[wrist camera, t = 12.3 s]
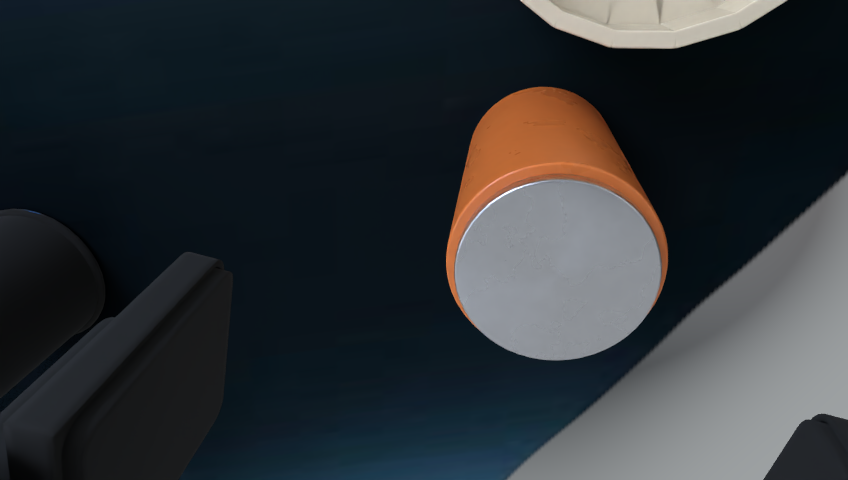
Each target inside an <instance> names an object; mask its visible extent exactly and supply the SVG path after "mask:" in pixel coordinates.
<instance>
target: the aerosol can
mask: <svg viewBox="0 0 848 480" xmlns="http://www.w3.org/2000/svg"><path fill="white" fill-rule="evenodd" d="M104 302H105V283H104V279H103V274H102V272H101V269H100V267H99V265H98V262H97V260H96V259H95V257H94V256H93V254H92V253H91V251H90V250H89V248H88V247H87V246H86V245H85V244H84V242H83V241H82V240H81V239H80V238H79V237H78V236H77V235H76V234H74V233H73V232H72V231H71V230H70V229H69V228H67V227H66V226H64V225H63V224H61V223H59V222H58V221H56V220H55V219H53V218H50V217H48V216H46V215H43V214H41V213H38V212H34V211H30V210H25V209H8V210H1V211H0V398H1V397H2V396H3V395H5V394H6V393H7V392H8V391H9V390H10V389H12V388H13V387H14V386H15V385H16V384H17V383H18V382H20V381H21V380H22V379H23V378H24V377H25V376H27V375H28V374H29V373H30V372H31V371H32V370H34V369H35V368H36V367H37V366H38V365H39V364H41V363H42V362H43V361H44V360H45V359H46V358H47V357H49V356H50V355H51V354H52V353H53V352H54V351H56V350H57V349H58V348H59V347H60V346H61V345H63V344H64V343H65V342H66V341H67V340H68V339H69V338H71V337H72V336H73V335H75V334H78V333H81V332H83V331H84V330H86V329H87V328H89V327H91V325H92V324H93V323H94V322H95V321H96V320H97V319H98V317H99V315H100V313H101V311H102V309H103V306H104Z"/></svg>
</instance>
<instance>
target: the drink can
mask: <svg viewBox="0 0 848 480" xmlns="http://www.w3.org/2000/svg"><path fill="white" fill-rule="evenodd" d="M667 267H668V248H667V241H666V236H665V233H664V230H663V226H662V224H661V222H660V220H659V218H658V216H657V214H656V212H655V210H654V208H653V206H652V205H651V203H650V201H649V199H648V197H647V196H646V194H645V192H644V190H643V189H642V187H641V185H640V183H639V181H638V180H637V178H636V176H635V174H634V172H633V171H632V169H631V167H630V165H629V163H628V162H627V160H626V158H625V156H624V154H623V153H622V151H621V149H620V147H619V145H618V144H617V142H616V140H615V138H614V136H613V135H612V133H611V131H610V129H609V127H608V126H607V124H606V122H605V120H604V119H603V117H602V116H601V114H600V113H599V112H598V111H597V110H596V109H595V107H594V106H593V105H591V104H590V103H589V102H588V101H586V100H585V99H583V98H582V97H580V96H578V95H576V94H574V93H572V92H570V91H566V90H563V89H559V88H553V87H535V88H528V89H524V90H520V91H518V92H515V93H513V94H510V95H509V96H507V97H505V98H503V99H502V100H500V101H499V102H497V103H496V104H495V105H494V106H493V107H492V108H490V109H489V110H488V111H487V113H486V114H485V115H484V116H483V117H482V119H481V120H480V122H479V124H478V125H477V127H476V129H475V131H474V134H473V136H472V140H471V143H470V147H469V152H468V156H467V161H466V165H465V170H464V174H463V178H462V183H461V187H460V192H459V196H458V201H457V205H456V209H455V214H454V218H453V223H452V227H451V232H450V236H449V241H448V246H447V253H446V269H447V276H448V281H449V285H450V288H451V291H452V294H453V296H454V298H455V300H456V302H457V304H458V306H459V307H460V309H461V310H462V312H463V313H464V315H465V316H466V317H467V318H468V319H469V321H470V322H471V323H472V324H473V325H474V326H475V327H476V328H477V329H478V330H480V331H481V332H482V333H483V334H484V335H485V336H486V337H488V338H489V339H490V340H492V341H493V342H495V343H496V344H498V345H500V346H501V347H503V348H505V349H507V350H509V351H512V352H514V353H517V354H520V355H523V356H526V357H530V358H536V359H542V360H570V359H576V358H582V357H586V356H589V355H593V354H596V353H598V352H601V351H603V350H605V349H607V348H609V347H611V346H613V345H615V344H617V343H618V342H620V341H621V340H622V339H624V338H625V337H627V336H628V335H629V334H630V333H631V332H632V331H634V330H635V329H636V328H637V326H638V325H639V324H640V323H641V322H642V321H643V320H644V318H645V317H646V315H647V314H648V313H649V311H650V310H651V308H652V307H653V306H654V304H655V303H656V301H657V298H658V296H659V294H660V292H661V290H662V287H663V284H664V281H665V278H666V273H667Z"/></svg>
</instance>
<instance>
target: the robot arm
mask: <svg viewBox="0 0 848 480" xmlns="http://www.w3.org/2000/svg"><path fill="white" fill-rule="evenodd" d="M232 286H233V275H232V273H231V272H229V271H225V270H224V265H223V262H222V261H221V260H218V259H214V258H210V257H206V256H202V255H199V254H195V253H191V252H185V253H184V254H182V255H181V256H180V257H179V258H178V259H177V260H176V261H175V262H174V263H173V264H171V265H170V266H169V267H168V268H167V269H166V270H165V271H164V272H163V273H162V274H161V275H160V276H159V277H158V278H157V279H156V280H154V281H153V282H152V283H151V284H150V285H149V286H148V287H147V288H146V289H145V290H144V291H143V292H142V293H141V294H140V295H139V296H138V297H136V298H135V299H134V300H133V301H132V302H131V303H130V304H129V305H128V306H127V307H126V308H125V309H124V310H123V311H122V312H121V313H120V314H118V315H117V316H116V317H115V318H114V317H110V318H105V319H104V320H102V321H101V322H100V323H98V324H97V325H96V326H95V327H94V328H93V329H91V330H90V331H89V332H88V333H87V334H86V335H85V336H84V337H83V338H82V339H81V340H80V341H78V342H77V343H76V344H75V345H74V346H73V347H72V348H71V349H70V350H69V351H68V352H66V353H65V354H64V355H63V356H62V357H61V358H60V359H59V360H58V361H57V362H56V363H54V364H53V365H52V366H51V367H50V368H49V369H48V370H47V371H46V372H45V373H44V374H43V375H41V376H40V377H39V378H38V379H37V380H36V381H35V382H34V383H33V384H32V385H31V386H29V387H28V388H27V389H26V390H25V391H24V392H23V393H22V394H21V395H20V396H19V397H17V398H16V399H15V400H14V401H13V402H12V403H11V404H10V405H9V406H8V407H7V408H6V409H4V410H3V411H2V412H1V413H0V480H178V479H179V478H180V476H181V475H182V473H183V471H184V470H185V468H186V467H187V465H188V463H189V462H190V460H191V459H192V457H193V455H194V454H195V452H196V451H197V449H198V447H199V446H200V444H201V442H202V441H203V439H204V438H205V436H206V434H207V433H208V431H209V430H210V428H211V426H212V425H213V423H214V422H215V420H216V418H217V416H218V414H219V411H220V408H221V405H222V401H223V393H224V381H225V369H226V357H227V345H228V333H229V321H230V309H231V298H232ZM764 480H848V420H846V419H842V418H838V417H834V416H831V415H827V414H818V415H816V416H815V417H813V418H812V419H811V420H805V421H803V422H801V424H800V425H799V426H798V427H797V429H796V430H795V432H794V434H793V435H792V437H791V438H790V440H789V441H788V443H787V444H786V446H785V447H784V449H783V451H782V452H781V454H780V455H779V457H778V458H777V460H776V461H775V463H774V464H773V466H772V467H771V469H770V471H769V472H768V473H767V475H766V477H765V478H764Z"/></svg>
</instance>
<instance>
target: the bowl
mask: <svg viewBox="0 0 848 480" xmlns="http://www.w3.org/2000/svg"><path fill="white" fill-rule="evenodd" d="M520 1H521V2H522V3H524V4H525V5H526V6H527V7H529V8H530V9H531V10H532V11H534V12H535V13H536V14H537V15H538V16H540V17H541V18H542V19H543V20H545V21H546V22H547V23H548V24H550V25H551V26H554V28H556V29H559V30H562V31H564V32H567V33H570V34H573V35H576V36H578V37H581V38H584V39H587V40H590V41H593V42H595V43H598V44H601V45H604V46H607V47H612V48H640V49H674V48H680V47H683V46H687V45H690V44H694V43H697V42H700V41H704V40H707V39H711V38H714V37H717V36H721V35H724V34H727V33H731V32H734V31H738V30H740V28H741V29H742V28H744V27H746V26H747V25H749V24H751V23H752V22H754V21H755V20H757V19H759V18H760V17H762V16H763V15H765V14H767V13H768V12H770V11H771V10H773V9H775V8H776V7H778V6H779V5H781V4H783V3H784V2H786V1H787V0H520Z"/></svg>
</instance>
